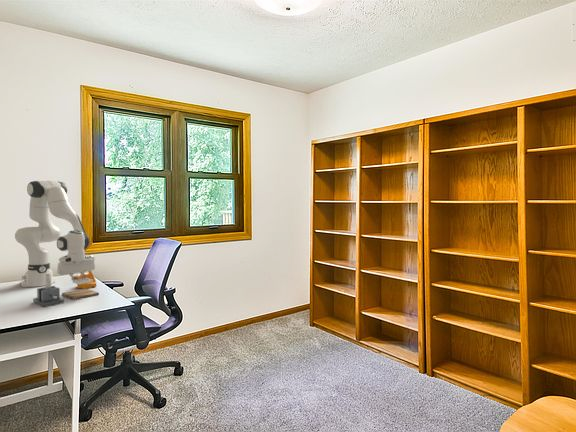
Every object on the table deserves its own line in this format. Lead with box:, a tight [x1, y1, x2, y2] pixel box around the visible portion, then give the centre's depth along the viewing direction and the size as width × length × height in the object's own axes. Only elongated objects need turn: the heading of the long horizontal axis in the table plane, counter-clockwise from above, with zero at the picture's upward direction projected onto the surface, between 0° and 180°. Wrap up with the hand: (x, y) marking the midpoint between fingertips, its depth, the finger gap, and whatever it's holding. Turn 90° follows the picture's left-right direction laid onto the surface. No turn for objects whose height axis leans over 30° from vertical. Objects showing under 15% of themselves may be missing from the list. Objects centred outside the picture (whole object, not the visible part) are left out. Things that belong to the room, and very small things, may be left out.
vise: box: [32, 274, 65, 308], centre depth 195 cm, size 17×10×16 cm, turn 53°
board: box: [61, 288, 100, 301], centre depth 213 cm, size 16×14×1 cm
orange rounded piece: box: [76, 270, 97, 290], centre depth 232 cm, size 11×7×12 cm, turn 121°
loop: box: [72, 274, 93, 285], centre depth 213 cm, size 15×8×2 cm, turn 53°
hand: (76, 279), depth 215 cm, fingers closed on loop, 2 cm apart
